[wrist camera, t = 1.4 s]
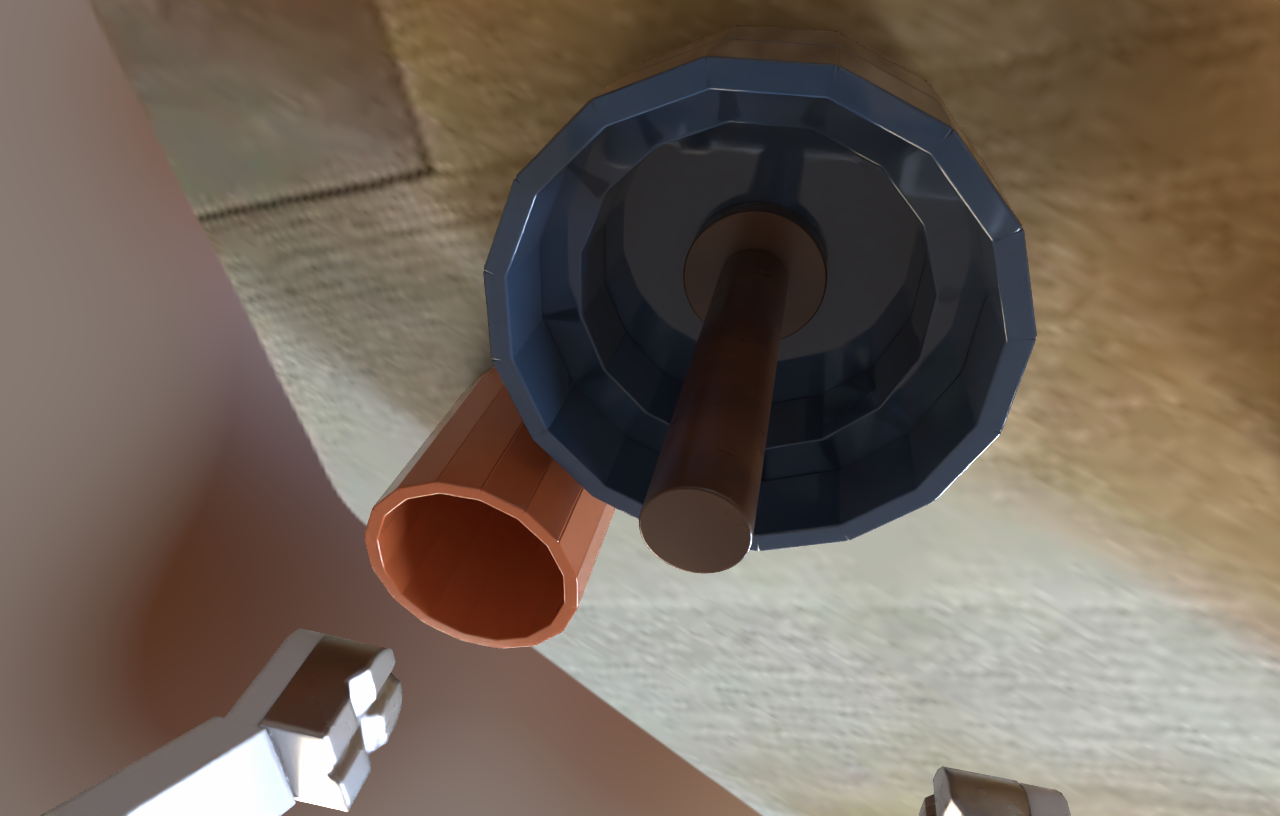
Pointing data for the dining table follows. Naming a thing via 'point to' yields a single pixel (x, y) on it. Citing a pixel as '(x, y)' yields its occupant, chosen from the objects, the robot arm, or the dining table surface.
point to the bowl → (855, 292)
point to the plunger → (730, 381)
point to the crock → (486, 528)
